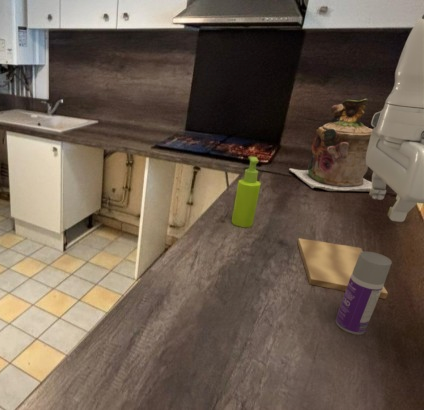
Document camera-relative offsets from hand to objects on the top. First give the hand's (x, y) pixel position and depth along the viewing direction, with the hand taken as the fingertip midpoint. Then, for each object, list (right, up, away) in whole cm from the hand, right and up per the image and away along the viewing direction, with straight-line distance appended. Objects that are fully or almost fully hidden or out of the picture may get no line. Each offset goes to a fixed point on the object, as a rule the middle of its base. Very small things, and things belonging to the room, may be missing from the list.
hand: (384, 208), depth 60 cm
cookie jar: (+48, +10, +81) cm, 95 cm away
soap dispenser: (-2, -5, +49) cm, 49 cm away
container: (0, -23, +8) cm, 24 cm away
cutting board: (+10, -14, +26) cm, 32 cm away
